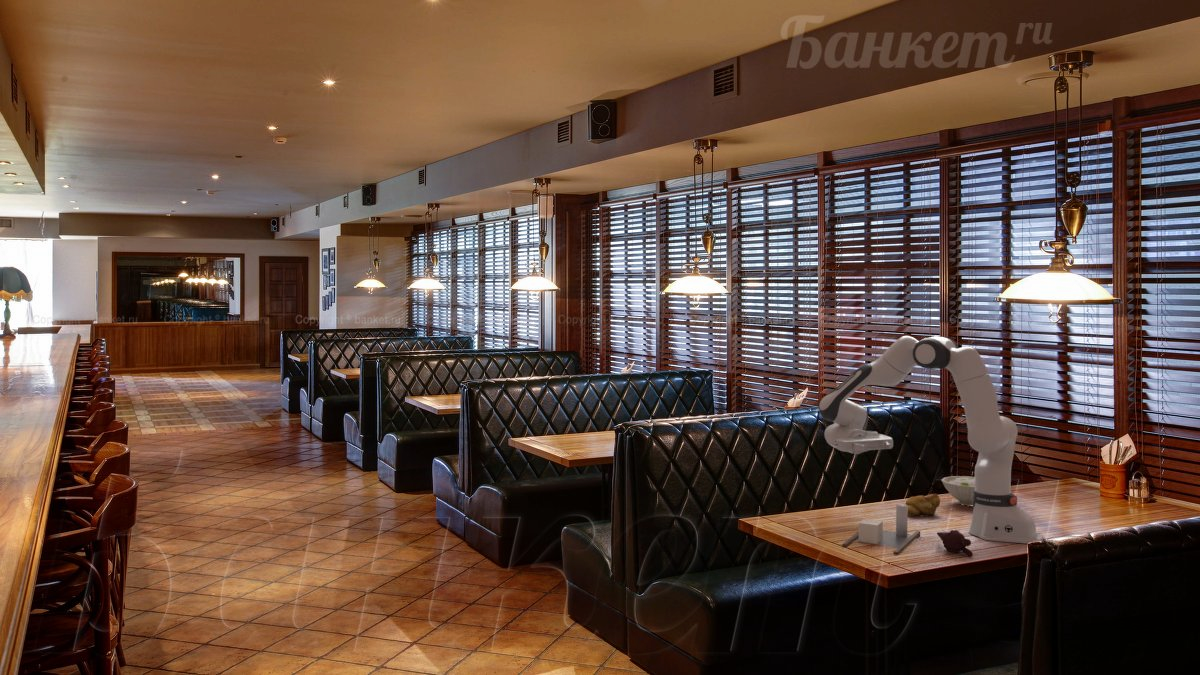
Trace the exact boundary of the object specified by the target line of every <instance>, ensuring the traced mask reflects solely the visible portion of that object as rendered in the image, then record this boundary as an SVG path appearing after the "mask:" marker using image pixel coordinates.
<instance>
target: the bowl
mask: <svg viewBox="0 0 1200 675" xmlns="http://www.w3.org/2000/svg"><path fill="white" fill-rule="evenodd" d="M941 482H942V484H943V486H944V489H946V490H947V491H948V493H949V494H950V495H951V496H952V497H953V498H954V499H956V500H957V501H958V503H960V504H963V505H973V491H974V490H975V476H968V475H967V476H966V475H962V476H960V475H955V476H954V475H953V476H947V477H946V476H945V477H943V478H942V479H941Z"/></svg>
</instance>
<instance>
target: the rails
mask: <svg viewBox="0 0 1200 675" xmlns="http://www.w3.org/2000/svg"><path fill="white" fill-rule="evenodd" d="M919 537H920V538H921V531H920V530H916V531H914V533H912V534H911V536H910V537H909V538H908V539H907V540H906V541H905V542H904V543H903V544H901V545H900V546H899V547H898V548H896V549H895V550H894V551H893V555H897V556H898V555H899V554H901V552H903V551H904V550H905V549H906V548H907V547H908V546H909V545H910V544H911V543H912V542H914V540H915V539H918V538H919ZM858 538H859V531H858V532H856V533H855V534H854V535H852V536H851V537H849V538H848V539H847V540H845V541H844V542H843V543H842V544H841V547H843V548H847V547H848V546H850V545H851V544H853V542H855V541H856V540H857V539H858ZM920 538H919V539H920Z"/></svg>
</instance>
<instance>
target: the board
mask: <svg viewBox="0 0 1200 675" xmlns="http://www.w3.org/2000/svg"><path fill="white" fill-rule="evenodd" d="M895 506H896V507H895V509H896V510H895V522H896V523H895V531H888V530H883V540H881V541H880V542H879V543H878V544H874V543H867V542H860V541H859V537H858V538H857V539H856V540H855V541H854V542H856V543H863V544H871V545H877V546H884V547H888V548H889V547H890V548H896V549H897V548H898V547H899V546H900V545H901V544H903V543H904V542H905V541H906V540H907V539H908V538H909V537H910V536H911V535H912V534H910V533H908V515H907V513H908V506H907V505H906V503H905V504H903V503H898V504H896V505H895Z"/></svg>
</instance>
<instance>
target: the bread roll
mask: <svg viewBox="0 0 1200 675" xmlns="http://www.w3.org/2000/svg"><path fill="white" fill-rule="evenodd" d="M905 505H907V506H908V513H907V516H911V517H915V516H917V517H921V516H922V515H923V517H930V516H929V515H931V516H934V515H935V513H936V510H937V508H939V506H940V505H941V499H940V496H939V495H938V494H937V493H932V494H931V493H930V494H927V495H916V496H910V497H909V498H907V499H906V501H905ZM933 514H934V515H933ZM920 515H921V516H920Z"/></svg>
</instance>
